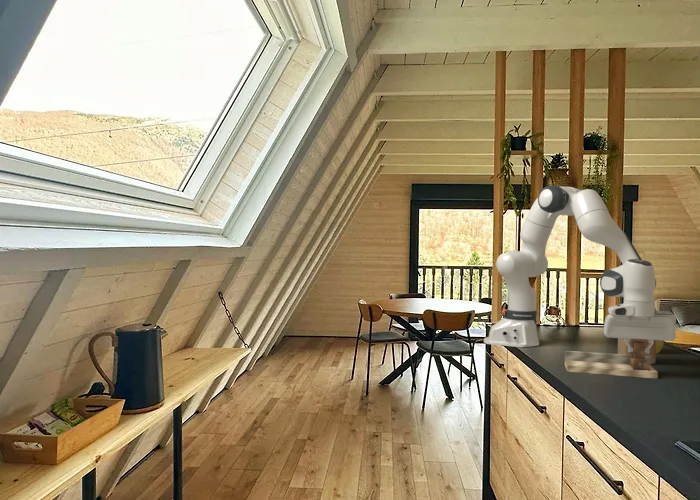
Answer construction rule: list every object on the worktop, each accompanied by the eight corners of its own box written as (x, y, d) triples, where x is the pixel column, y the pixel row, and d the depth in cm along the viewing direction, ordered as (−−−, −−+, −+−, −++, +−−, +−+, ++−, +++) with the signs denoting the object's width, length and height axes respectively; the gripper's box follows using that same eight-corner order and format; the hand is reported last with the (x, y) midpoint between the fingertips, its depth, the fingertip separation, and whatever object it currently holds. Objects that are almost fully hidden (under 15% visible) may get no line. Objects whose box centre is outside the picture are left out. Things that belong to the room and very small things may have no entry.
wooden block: (656, 365, 180) (657, 307, 180) (625, 363, 182) (626, 306, 182) (646, 359, 190) (646, 304, 190) (616, 357, 192) (617, 303, 192)
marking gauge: (633, 369, 164) (634, 343, 164) (629, 364, 170) (629, 340, 170) (648, 370, 162) (648, 344, 162) (643, 365, 169) (643, 341, 169)
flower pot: (660, 350, 206) (660, 328, 206) (665, 355, 198) (666, 331, 197) (635, 349, 209) (635, 326, 209) (639, 353, 200) (640, 330, 200)
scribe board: (567, 371, 169) (567, 356, 169) (564, 365, 178) (564, 350, 178) (657, 378, 161) (657, 362, 161) (650, 371, 170) (650, 356, 170)
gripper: (673, 310, 166) (672, 353, 166) (603, 307, 173) (602, 348, 173) (678, 312, 160) (678, 357, 160) (606, 309, 167) (605, 352, 167)
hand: (638, 352), depth 167 cm, fingers closed on marking gauge, 3 cm apart
